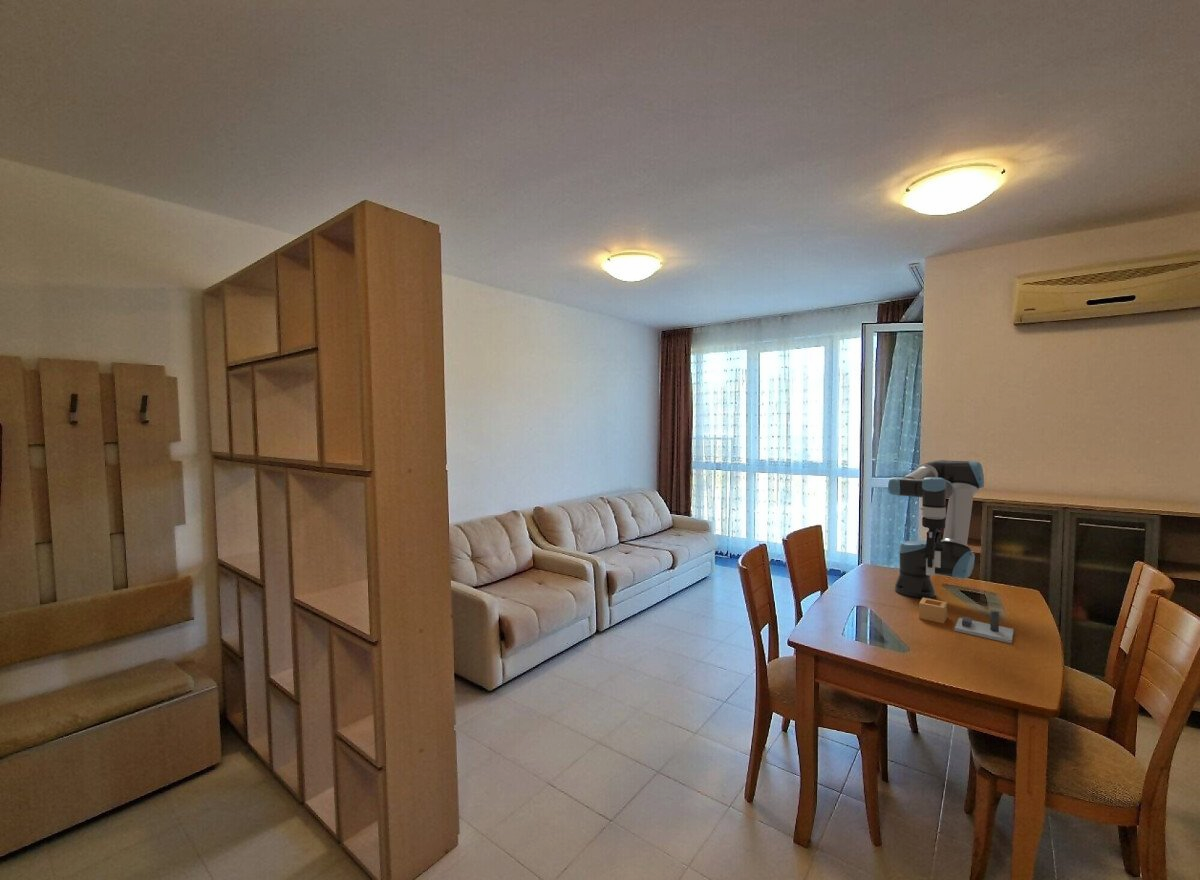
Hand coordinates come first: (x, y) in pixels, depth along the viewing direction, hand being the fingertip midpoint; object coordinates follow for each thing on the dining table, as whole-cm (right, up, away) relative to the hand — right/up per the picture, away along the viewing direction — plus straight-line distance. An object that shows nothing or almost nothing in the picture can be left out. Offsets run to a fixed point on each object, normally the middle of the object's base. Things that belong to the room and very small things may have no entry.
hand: (933, 571), depth 190 cm
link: (0, -18, +1) cm, 18 cm away
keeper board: (+10, -19, -12) cm, 25 cm away
